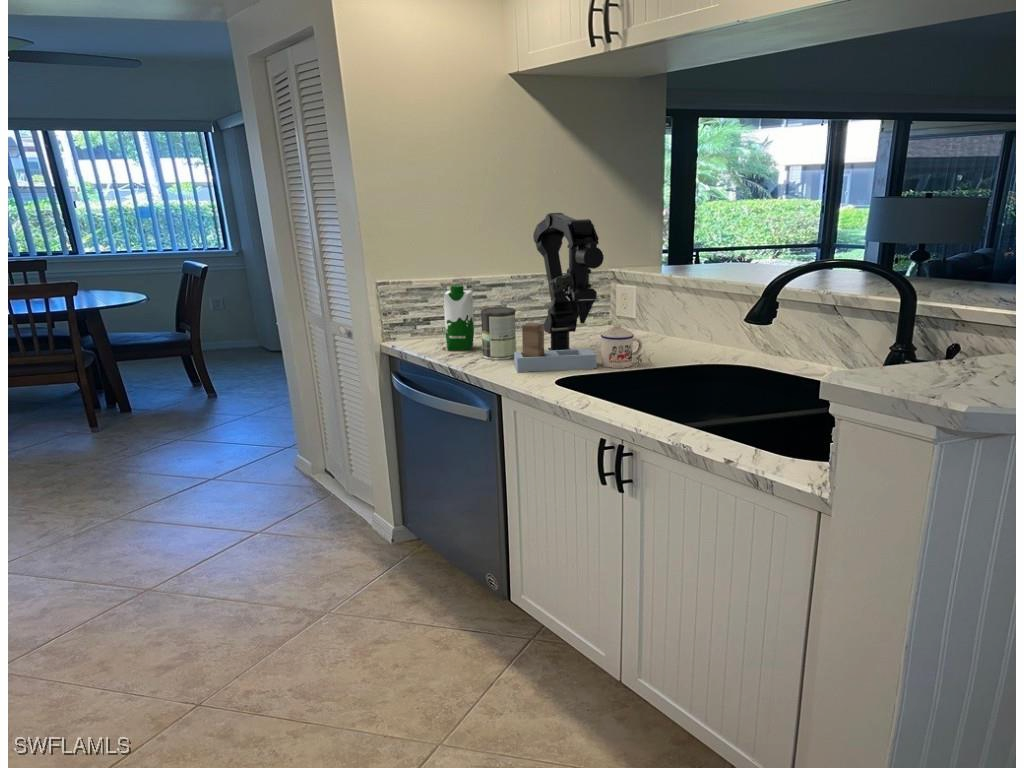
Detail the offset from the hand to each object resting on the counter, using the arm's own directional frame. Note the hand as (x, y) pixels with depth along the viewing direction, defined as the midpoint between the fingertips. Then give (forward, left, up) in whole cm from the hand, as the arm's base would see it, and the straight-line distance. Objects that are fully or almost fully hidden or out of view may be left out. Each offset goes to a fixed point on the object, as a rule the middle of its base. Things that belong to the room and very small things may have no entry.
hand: (579, 320), depth 218 cm
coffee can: (-12, -22, -12) cm, 28 cm away
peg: (+5, -14, -12) cm, 19 cm away
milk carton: (-26, -33, -12) cm, 44 cm away
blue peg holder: (+5, -8, -12) cm, 15 cm away
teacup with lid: (+6, +11, -12) cm, 17 cm away
